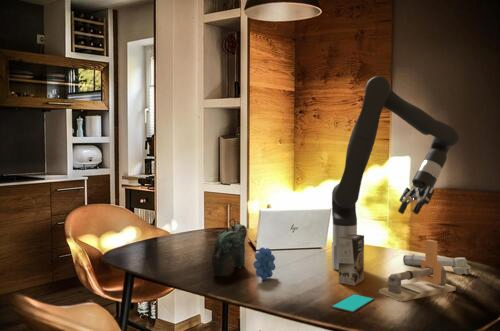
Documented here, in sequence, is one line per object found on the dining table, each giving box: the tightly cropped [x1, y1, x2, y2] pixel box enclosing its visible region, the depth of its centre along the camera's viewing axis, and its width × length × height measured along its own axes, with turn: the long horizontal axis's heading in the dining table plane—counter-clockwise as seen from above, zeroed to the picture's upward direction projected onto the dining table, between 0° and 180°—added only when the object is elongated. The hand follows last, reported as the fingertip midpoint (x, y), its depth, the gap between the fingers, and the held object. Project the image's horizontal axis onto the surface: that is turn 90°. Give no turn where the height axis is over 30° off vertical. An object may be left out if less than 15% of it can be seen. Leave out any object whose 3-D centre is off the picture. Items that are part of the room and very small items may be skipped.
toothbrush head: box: [402, 253, 471, 276], centre depth 193 cm, size 5×7×25 cm
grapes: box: [252, 247, 276, 281], centre depth 179 cm, size 12×7×12 cm, turn 141°
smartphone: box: [330, 293, 375, 314], centre depth 154 cm, size 7×1×15 cm
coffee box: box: [338, 234, 365, 286], centre depth 177 cm, size 9×6×16 cm
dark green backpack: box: [211, 218, 248, 277], centre depth 191 cm, size 20×6×20 cm, turn 150°
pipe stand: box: [378, 266, 457, 302], centre depth 165 cm, size 24×10×7 cm, turn 117°
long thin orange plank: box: [420, 239, 441, 284], centre depth 168 cm, size 2×7×14 cm, turn 27°
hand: (407, 212), depth 179 cm, fingers open, 8 cm apart
